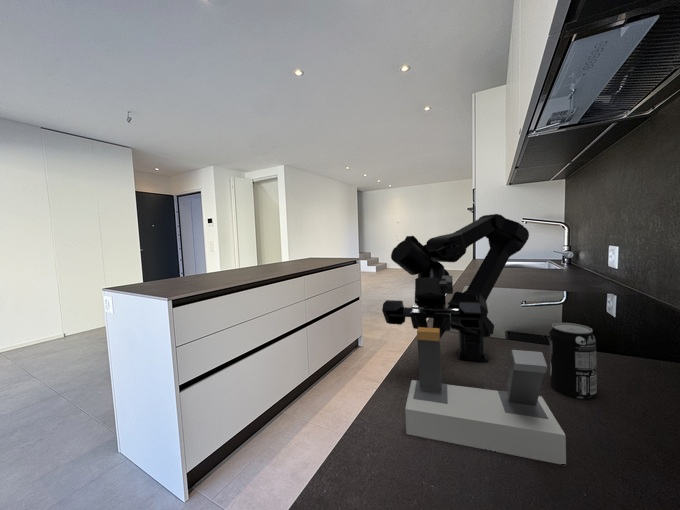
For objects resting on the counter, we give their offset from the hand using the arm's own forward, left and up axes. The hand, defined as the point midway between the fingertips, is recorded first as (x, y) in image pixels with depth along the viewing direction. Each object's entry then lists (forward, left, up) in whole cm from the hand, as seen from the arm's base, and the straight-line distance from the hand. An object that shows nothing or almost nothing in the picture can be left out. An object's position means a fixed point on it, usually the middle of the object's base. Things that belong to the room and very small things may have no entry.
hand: (430, 355), depth 50 cm
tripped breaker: (+4, 0, -4) cm, 6 cm away
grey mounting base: (+5, +7, -9) cm, 12 cm away
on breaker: (+4, +13, -4) cm, 14 cm away
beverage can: (-11, +25, -9) cm, 28 cm away
